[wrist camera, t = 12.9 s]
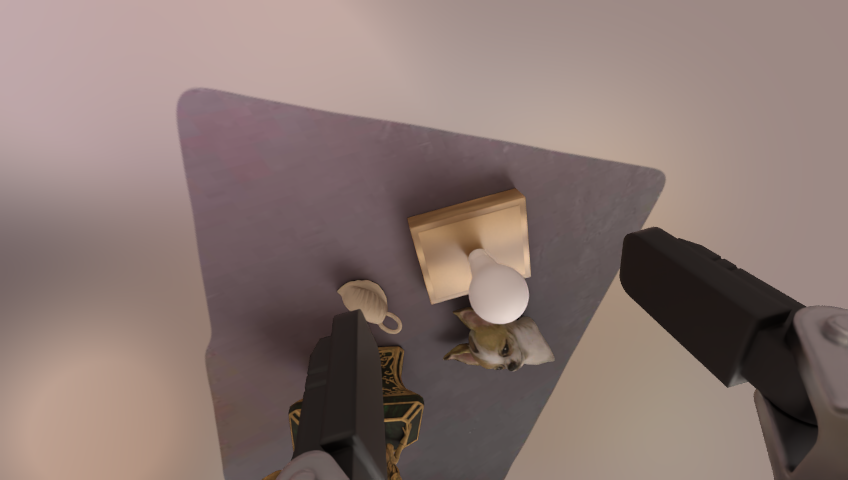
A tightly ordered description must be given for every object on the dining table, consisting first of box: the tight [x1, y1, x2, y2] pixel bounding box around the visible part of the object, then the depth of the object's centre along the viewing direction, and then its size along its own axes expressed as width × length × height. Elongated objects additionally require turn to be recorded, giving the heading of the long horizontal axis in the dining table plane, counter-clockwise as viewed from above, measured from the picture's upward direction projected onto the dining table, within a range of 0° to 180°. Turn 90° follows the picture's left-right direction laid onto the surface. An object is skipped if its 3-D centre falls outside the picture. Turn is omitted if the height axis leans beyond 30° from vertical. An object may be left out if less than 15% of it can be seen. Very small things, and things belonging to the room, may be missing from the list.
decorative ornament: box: [337, 280, 402, 334], centre depth 43 cm, size 4×8×5 cm, turn 48°
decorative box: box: [262, 347, 424, 480], centre depth 43 cm, size 20×10×20 cm, turn 84°
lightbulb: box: [468, 249, 529, 324], centre depth 36 cm, size 6×6×11 cm
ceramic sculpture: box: [443, 307, 555, 371], centre depth 48 cm, size 11×9×15 cm
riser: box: [407, 188, 531, 304], centre depth 43 cm, size 12×14×3 cm
